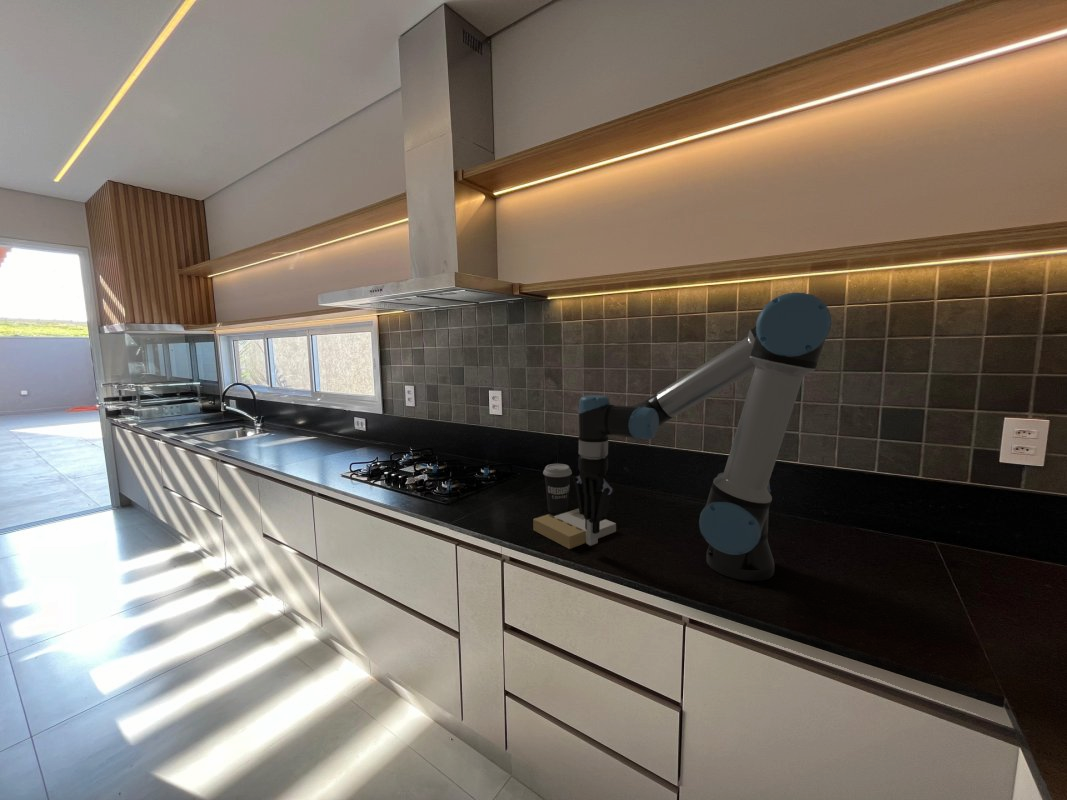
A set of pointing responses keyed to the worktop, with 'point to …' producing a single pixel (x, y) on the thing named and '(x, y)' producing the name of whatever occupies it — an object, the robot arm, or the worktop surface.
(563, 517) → the flat white box
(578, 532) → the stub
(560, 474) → the coffee cup
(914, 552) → the worktop surface
